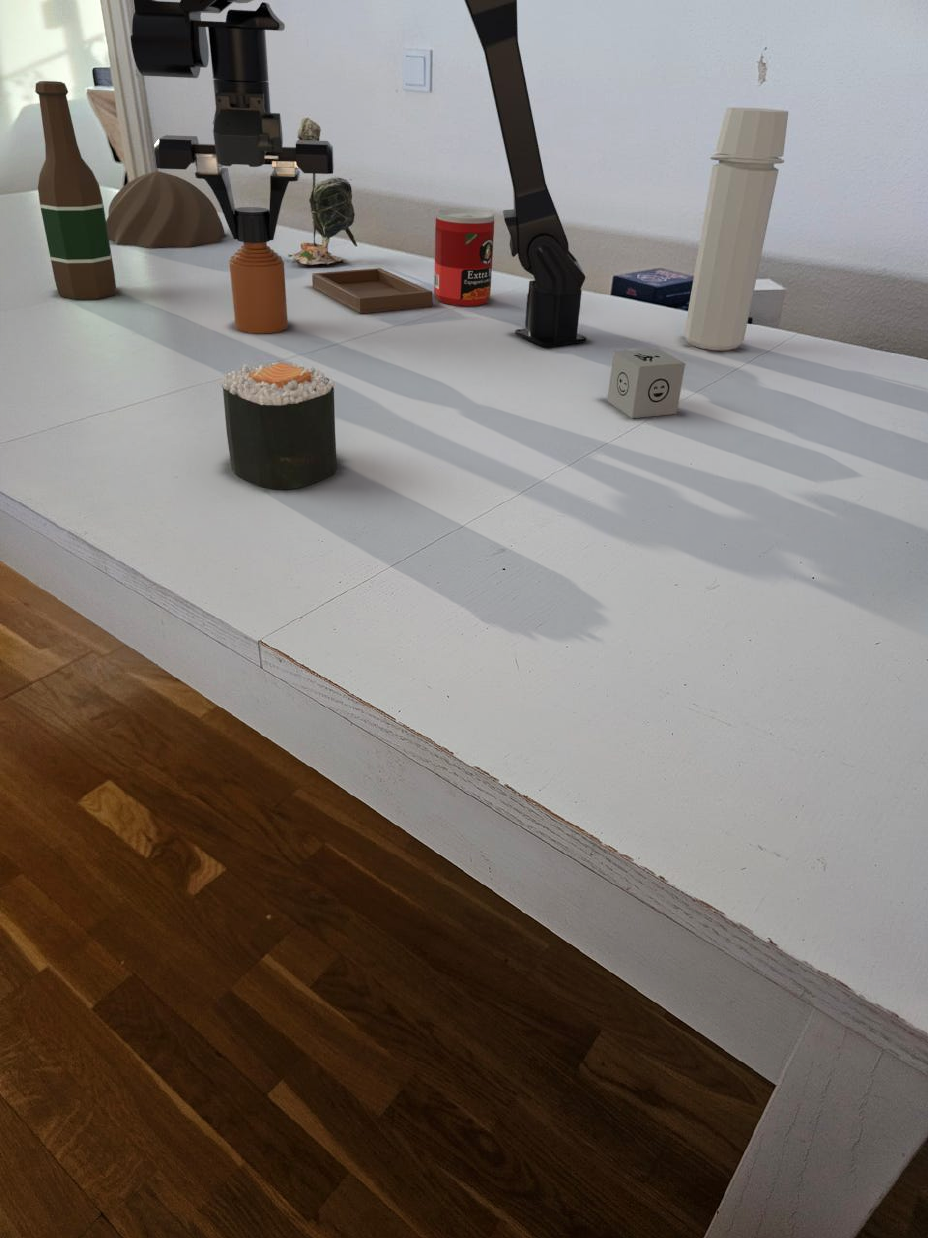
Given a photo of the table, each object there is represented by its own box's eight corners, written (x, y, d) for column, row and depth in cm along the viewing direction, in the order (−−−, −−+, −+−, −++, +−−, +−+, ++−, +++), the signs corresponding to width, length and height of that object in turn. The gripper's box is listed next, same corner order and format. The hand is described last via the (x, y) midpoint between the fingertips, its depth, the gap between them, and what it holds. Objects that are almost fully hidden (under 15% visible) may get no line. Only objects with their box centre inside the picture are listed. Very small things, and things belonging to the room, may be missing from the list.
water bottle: (748, 355, 106) (799, 113, 93) (680, 349, 107) (721, 108, 94) (741, 335, 114) (787, 108, 101) (678, 329, 115) (715, 104, 102)
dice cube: (607, 401, 90) (613, 351, 88) (650, 397, 92) (657, 348, 89) (632, 418, 86) (639, 366, 84) (676, 413, 88) (685, 362, 85)
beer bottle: (128, 288, 122) (96, 81, 109) (103, 301, 115) (66, 84, 102) (73, 284, 122) (34, 78, 109) (45, 298, 116) (0, 80, 103)
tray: (432, 306, 120) (432, 291, 119) (360, 313, 115) (359, 298, 114) (380, 281, 131) (380, 267, 130) (312, 287, 126) (311, 273, 125)
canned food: (468, 309, 119) (472, 219, 113) (422, 298, 123) (423, 211, 117) (501, 299, 125) (506, 213, 119) (456, 289, 129) (458, 206, 123)
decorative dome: (105, 227, 158) (95, 163, 153) (220, 225, 164) (214, 164, 158) (102, 248, 143) (91, 178, 138) (230, 246, 148) (224, 179, 143)
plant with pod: (365, 266, 139) (362, 119, 129) (291, 268, 136) (283, 117, 125) (354, 256, 146) (350, 115, 135) (283, 257, 143) (274, 113, 132)
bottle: (295, 330, 108) (289, 222, 101) (245, 335, 105) (235, 224, 98) (277, 317, 112) (269, 213, 106) (228, 322, 109) (217, 215, 103)
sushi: (287, 441, 78) (281, 348, 74) (355, 467, 74) (353, 371, 69) (211, 467, 73) (199, 369, 68) (280, 497, 68) (272, 395, 64)
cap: (275, 237, 105) (273, 207, 103) (265, 243, 101) (263, 213, 100) (243, 235, 105) (240, 205, 103) (232, 241, 102) (229, 210, 100)
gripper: (134, 79, 87) (157, 251, 95) (329, 87, 89) (334, 255, 97) (154, 75, 96) (174, 232, 105) (331, 83, 98) (336, 236, 107)
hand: (253, 238), depth 103 cm, fingers closed on cap, 4 cm apart
